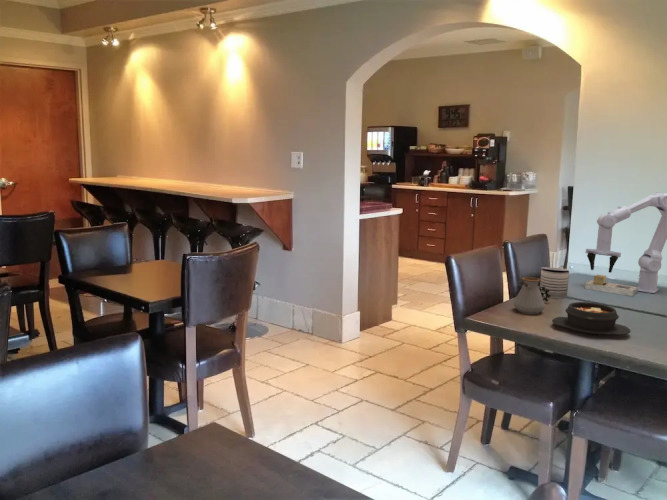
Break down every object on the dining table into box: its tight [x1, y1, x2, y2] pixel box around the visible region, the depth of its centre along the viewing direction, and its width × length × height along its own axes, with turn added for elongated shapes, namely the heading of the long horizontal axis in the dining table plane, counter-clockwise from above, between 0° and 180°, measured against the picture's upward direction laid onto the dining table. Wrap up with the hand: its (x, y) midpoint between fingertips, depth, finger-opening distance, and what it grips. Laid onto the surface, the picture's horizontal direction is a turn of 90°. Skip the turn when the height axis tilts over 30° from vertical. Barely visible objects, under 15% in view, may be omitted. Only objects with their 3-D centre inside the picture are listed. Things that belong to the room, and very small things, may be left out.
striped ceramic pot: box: [539, 266, 570, 299], centre depth 257 cm, size 11×11×12 cm
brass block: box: [593, 274, 607, 285], centre depth 272 cm, size 4×4×6 cm
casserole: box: [551, 301, 631, 336], centre depth 207 cm, size 25×19×8 cm
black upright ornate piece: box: [538, 286, 551, 303], centre depth 242 cm, size 7×7×12 cm
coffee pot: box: [513, 276, 546, 315], centre depth 225 cm, size 21×12×15 cm, turn 149°
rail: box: [584, 279, 639, 297], centre depth 270 cm, size 9×20×2 cm, turn 51°
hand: (601, 270), depth 272 cm, fingers open, 7 cm apart
